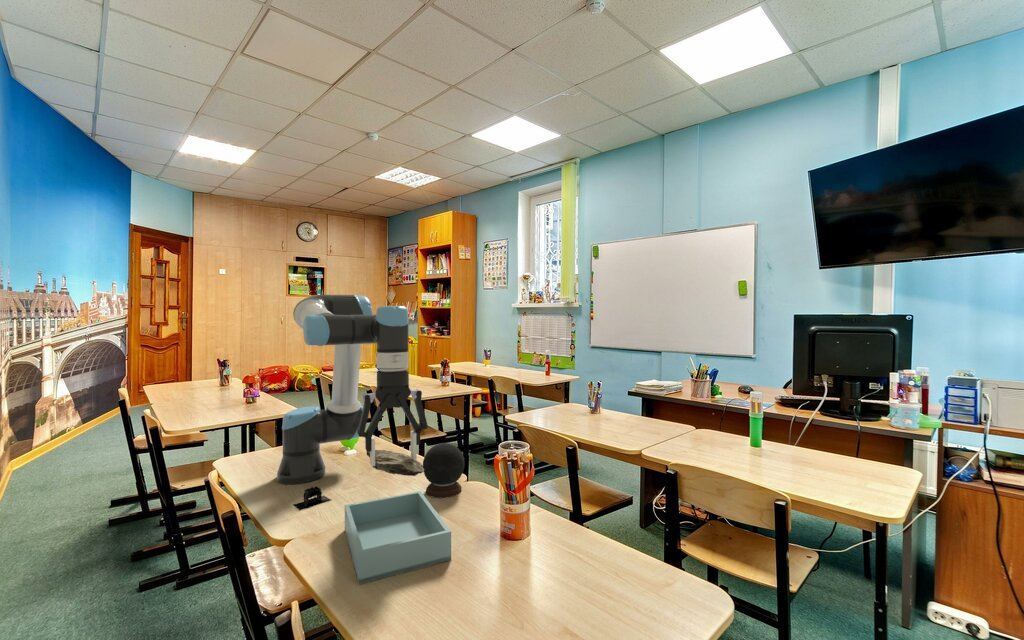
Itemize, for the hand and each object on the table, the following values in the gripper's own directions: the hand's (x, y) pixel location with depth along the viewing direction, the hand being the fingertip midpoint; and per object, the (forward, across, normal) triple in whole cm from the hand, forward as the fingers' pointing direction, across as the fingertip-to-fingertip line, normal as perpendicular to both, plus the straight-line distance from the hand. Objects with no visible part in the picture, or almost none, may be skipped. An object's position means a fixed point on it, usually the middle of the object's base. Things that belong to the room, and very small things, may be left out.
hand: (393, 461), depth 107 cm
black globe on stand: (+20, +21, +26) cm, 39 cm away
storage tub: (+20, 0, 0) cm, 20 cm away
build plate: (+21, -17, +35) cm, 44 cm away
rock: (+2, +1, +1) cm, 2 cm away
